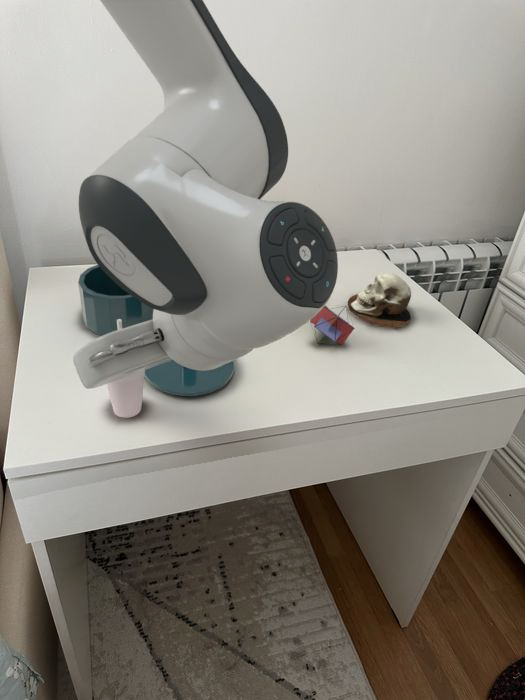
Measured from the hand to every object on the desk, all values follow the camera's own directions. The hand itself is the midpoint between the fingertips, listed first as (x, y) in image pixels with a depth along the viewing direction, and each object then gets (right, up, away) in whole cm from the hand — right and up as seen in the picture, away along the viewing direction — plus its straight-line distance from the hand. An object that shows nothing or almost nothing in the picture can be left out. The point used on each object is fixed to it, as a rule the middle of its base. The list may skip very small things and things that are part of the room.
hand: (155, 352), depth 59 cm
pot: (-12, +6, +32) cm, 35 cm away
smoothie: (-7, -8, +14) cm, 17 cm away
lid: (+1, -2, +21) cm, 22 cm away
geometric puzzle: (+23, +2, +32) cm, 39 cm away
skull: (+34, +7, +41) cm, 54 cm away
